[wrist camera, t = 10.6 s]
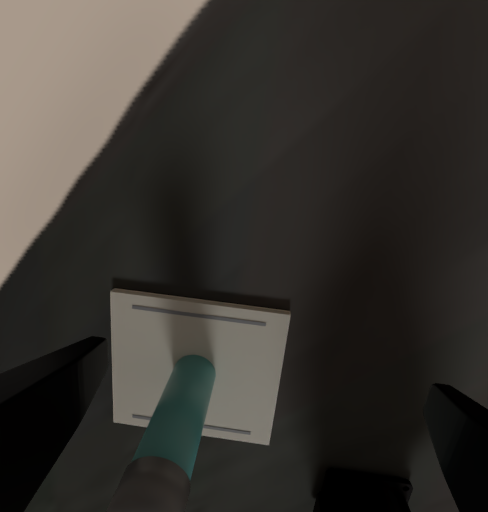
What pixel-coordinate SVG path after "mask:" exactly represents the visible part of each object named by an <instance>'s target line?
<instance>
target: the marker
mask: <svg viewBox="0 0 488 512" xmlns="http://www.w3.org/2000/svg"><path fill="white" fill-rule="evenodd" d="M215 377H216V372H215V368H214V366H213V365H212V363H211V362H210V361H209V360H207V359H206V358H204V357H202V356H199V355H187V356H184V357H182V358H180V359H179V360H178V361H177V363H176V364H175V366H174V369H173V371H172V373H171V375H170V377H169V380H168V382H167V384H166V386H165V389H164V391H163V393H162V395H161V397H160V400H159V402H158V404H157V406H156V408H155V411H154V413H153V415H152V417H151V419H150V422H149V424H148V426H147V428H146V431H145V433H144V435H143V437H142V439H141V442H140V444H139V446H138V448H137V450H136V453H135V455H134V457H133V459H132V461H131V463H130V464H129V465H128V466H127V468H126V470H125V472H124V474H123V476H122V478H121V480H120V483H119V485H118V487H117V489H116V491H115V494H114V496H113V498H112V500H111V502H110V504H109V507H108V509H107V511H106V512H185V509H186V505H187V501H188V496H189V492H190V479H191V475H192V471H193V467H194V463H195V459H196V455H197V451H198V447H199V443H200V439H201V434H202V430H203V426H204V422H205V418H206V414H207V410H208V406H209V402H210V398H211V394H212V390H213V386H214V382H215Z"/></svg>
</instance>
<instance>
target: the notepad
mask: <svg viewBox="0 0 488 512" xmlns="http://www.w3.org/2000/svg"><path fill="white" fill-rule="evenodd" d="M110 303H111V342H112V381H113V420H114V422H115V423H122V424H129V425H135V426H142V427H147V426H148V424H149V422H150V419H151V417H152V415H153V413H154V411H155V408H156V406H157V404H158V402H159V400H160V397H161V395H162V393H163V391H164V389H165V386H166V384H167V382H168V380H169V377H170V375H171V373H172V371H173V369H174V366H175V364H176V363H177V361H178V360H179V359H180V358H182V357H184V356H187V355H199V356H202V357H204V358H206V359H207V360H209V361H210V362H211V363H212V365H213V366H214V368H215V372H216V377H215V382H214V386H213V390H212V394H211V398H210V402H209V406H208V410H207V414H206V418H205V422H204V426H203V430H202V434H201V435H203V436H210V437H216V438H223V439H230V440H237V441H243V442H250V443H257V444H264V445H269V442H270V436H271V430H272V424H273V418H274V412H275V406H276V400H277V394H278V388H279V382H280V376H281V370H282V364H283V358H284V352H285V346H286V340H287V334H288V328H289V322H290V316H291V314H290V311H287V310H280V309H272V308H264V307H257V306H249V305H241V304H233V303H226V302H218V301H210V300H203V299H195V298H187V297H180V296H172V295H164V294H156V293H149V292H141V291H133V290H126V289H118V288H114V289H113V290H111V291H110Z"/></svg>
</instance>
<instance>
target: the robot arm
mask: <svg viewBox="0 0 488 512" xmlns="http://www.w3.org/2000/svg"><path fill="white" fill-rule="evenodd" d="M107 369H108V341H107V339H106V338H102V337H95V336H91V337H89V338H86V339H84V340H81V341H79V342H76V343H74V344H71V345H69V346H67V347H64V348H62V349H59V350H57V351H54V352H52V353H49V354H47V355H44V356H42V357H39V358H37V359H35V360H32V361H30V362H27V363H25V364H22V365H20V366H17V367H15V368H12V369H10V370H8V371H5V372H3V373H0V512H24V511H25V509H26V508H27V506H28V504H29V503H30V501H31V500H32V498H33V497H34V495H35V493H36V492H37V490H38V489H39V487H40V486H41V484H42V483H43V481H44V479H45V478H46V476H47V475H48V473H49V472H50V470H51V468H52V467H53V465H54V464H55V462H56V461H57V459H58V457H59V456H60V454H61V453H62V451H63V450H64V448H65V446H66V445H67V443H68V442H69V440H70V439H71V437H72V435H73V434H74V432H75V431H76V429H77V427H78V426H79V424H80V423H81V421H82V419H83V417H84V415H85V413H86V411H87V409H88V407H89V405H90V403H91V401H92V399H93V397H94V395H95V393H96V391H97V389H98V387H99V386H100V384H101V382H102V380H103V378H104V376H105V374H106V371H107ZM423 415H424V419H425V422H426V425H427V428H428V431H429V434H430V437H431V440H432V443H433V446H434V449H435V452H436V455H437V458H438V461H439V464H440V467H441V469H442V472H443V475H444V477H445V480H446V482H447V484H448V487H449V489H450V491H451V494H452V496H453V498H454V500H455V503H456V505H457V507H458V510H459V512H488V409H486V408H485V407H483V406H482V405H480V404H479V403H477V402H475V401H474V400H472V399H471V398H469V397H468V396H466V395H465V394H463V393H461V392H460V391H458V390H457V389H455V388H454V387H452V386H450V385H445V384H438V383H435V384H432V386H431V387H430V390H429V393H428V396H427V398H426V401H425V404H424V408H423ZM412 490H413V487H412V485H411V483H410V481H409V480H407V479H403V478H396V477H389V476H383V475H376V474H369V473H363V472H356V471H349V470H343V469H336V468H330V469H328V470H327V471H326V474H325V478H324V482H323V486H322V490H321V491H319V493H318V494H317V497H316V501H315V506H314V510H313V512H411V511H410V509H409V506H408V501H409V498H410V496H411V493H412Z"/></svg>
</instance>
